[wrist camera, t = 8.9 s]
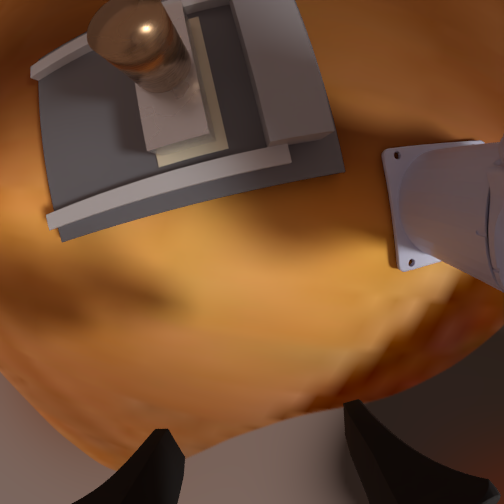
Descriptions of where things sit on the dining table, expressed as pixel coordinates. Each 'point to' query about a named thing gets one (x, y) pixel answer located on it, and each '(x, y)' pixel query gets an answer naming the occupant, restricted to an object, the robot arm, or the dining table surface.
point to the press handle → (157, 69)
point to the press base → (221, 110)
